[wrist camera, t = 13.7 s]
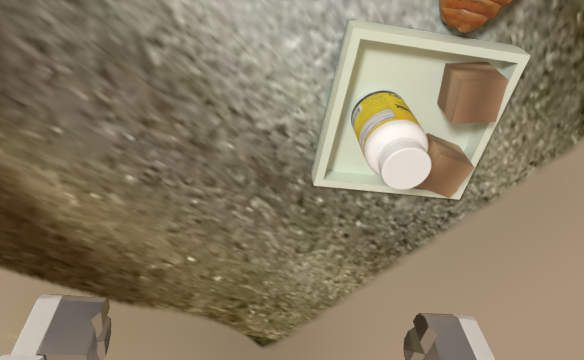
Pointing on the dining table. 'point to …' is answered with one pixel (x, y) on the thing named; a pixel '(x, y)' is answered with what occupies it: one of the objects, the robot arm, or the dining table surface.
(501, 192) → the dining table surface
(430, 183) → the walnut block
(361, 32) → the tray
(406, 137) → the supplement bottle
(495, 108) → the walnut block
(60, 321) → the robot arm
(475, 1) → the pastry
